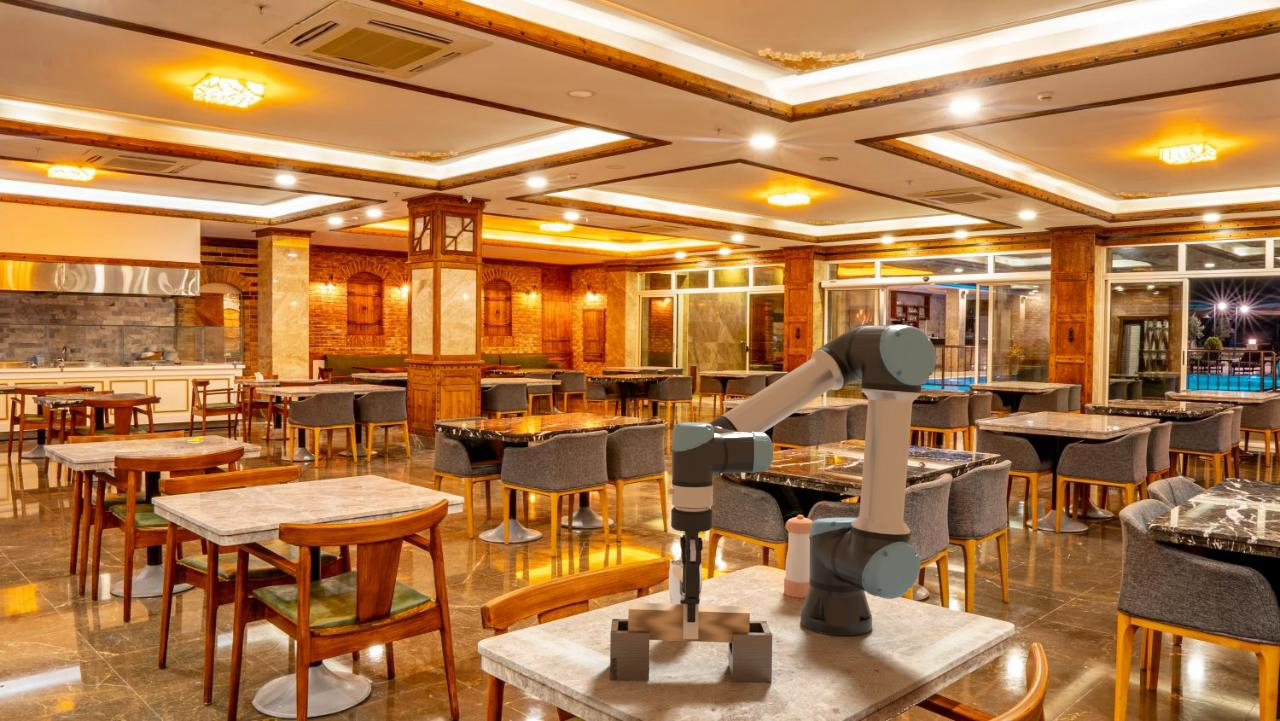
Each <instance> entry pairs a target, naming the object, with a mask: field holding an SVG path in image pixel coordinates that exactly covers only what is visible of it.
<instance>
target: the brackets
mask: <svg viewBox="0 0 1280 721" xmlns="http://www.w3.org/2000/svg"><path fill="white" fill-rule="evenodd" d="M649 635H650V631H628V618H611V627H610V635H609V637H610V644H609V645H610V649H609V650H610V652H609V654H610V655H609V660H610V661H609V680H610V681H650V640H649ZM728 668H729V674H730V677H731V681H732V682H733V683H739V682H740V683H772V682H773V681H772V680H773V679H772V677H773V676H772V674H773V670H772V669H773V634H772V631H771V629H770V626H769V624H768V621H767V620H750V624H749V633H738V632H733V635H732V643H728Z"/></svg>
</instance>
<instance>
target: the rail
mask: <svg viewBox="0 0 1280 721" xmlns="http://www.w3.org/2000/svg"><path fill="white" fill-rule="evenodd" d="M683 606H684V604H671V603H658V602H657V603H656V602H629V603H628V618H627V619H628V631H650V635H649V641H669V642H670V641H673V642H698V643H699V642H703V643H704V642H705V643H706V642H707V643H728V644H729V643H732V635H733V632H738V633H749V624H750V621H751V619H750V618H751V616H750V615H751V612H750V609H749V608H748V607H749V606H744V605H741V606H740V605H714V604H709V605H708V604H699V615H698V639H683Z"/></svg>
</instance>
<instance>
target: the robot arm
mask: <svg viewBox="0 0 1280 721" xmlns="http://www.w3.org/2000/svg"><path fill="white" fill-rule="evenodd" d="M936 355H937V354H936V349H935V346H934V344H933V342H932V340H931V339H930V338H929V337H928V336H927V334H926V333H925V332H924V331H923V330H921V329H920V328H918V327H916V326H915V327H914V326H912V325H903V324H890V325H889V324H888V325H887V324H886V325H884V324H883V325H861V326H857V327H855V328H851V329H850V330H848V331H845V332H844V333H842V334H841V335H839V336H837V337H835V338H834V339H831V340H830V341H829V342H827V343H824V345H822V346H820V347H819V348H817V349H816V350H814V351H813V352H812V353H811V355H810V359H809V360H808V361H806V362H804V363H802V364H801V365H800V366H798V367H796V368H794V369H793V370H792V371H790V372H789V373H787V374H785V375H783V376H781V378H779V379H778V380H776V381H774V382H773V383H770V384H769V385H768V386H766V387H765V388H763V389H762V390H760V391H758V392H757V393H755V394H753V395H752V396H750V397H749V398H747V399H746V400H744V401H743V402H741V403H739V404H738V405H736V406H734V407H733V408H732V409H730V410H728V411H727V412H725V413H724V414H722V415H720V416H718V417H716V418H715V419H713V420H712V421H710V422H709V423H708V422H690V421H688V422H679V423H676V424H675V425H674V427H673V431H672V437H671V438H672V440H671V487H672V488H669V489H668V492H667V493H668V494H670V495H671V505H672V506H673V507H672V508H671V510H670V511H671V512H670V527H671V528H672V529H673V530H675V531H677V532H678V531H679V532H684V534H682V536H680V540H679V544H680V549H681V552H680V554H681V555H680V556H681V558H682V563H683V582H682V586H683V589H682V591H683V593H685V595H684V594H683V596H682V600H680V603H681V604H684V606H683V639H698V615H699V605H700V604H699V602H700V603H701V598H700V599H699V594H700V589H699V573H700V564H701V565H702V550H703V547H704V546H703V544H704V543H703V539H702V538H703V537H701V536H699V533H701V532H703V533H704V532H707V531H710V530H711V529H712V528H713V510H712V508H711V507H712V506H713V504H714V499H713V498H714V482H713V481H714V475H721V474H739V473H740V474H741V473H742V474H743V473H744V474H745V473H747V474H748V473H750V474H755V473H757V472H759V473H760V472H766V471H767V470H769V468H770V467H771V465H772V463H773V460H774V446H773V442H772V440H771V438H770V437H769V435H768V434H766V433H765V432H766V431H768V430H769V429H771V428H773V427H774V426H775V425H777V424H779V423H780V422H782V421H783V420H785V419H787V418H788V417H790V416H791V415H793V414H794V413H796V412H797V411H799V410H800V409H802V408H803V407H806V405H808V404H810V403H811V402H813V401H814V400H816V399H818V398H819V397H821V396H822V395H823V394H825V393H827V392H829V391H830V390H833V391H839V390H840V389H842V388H843V387H845V386H847V385H849V384H853V383H855V382H861V385H860V386H861V388H860V389H861V391H862V393H863V394H864V396H866V398H867V411H866V412H867V413H866V425H865V426H866V427H865V439H864V451H863V466H862V476H861V477H862V478H861V490H860V504H859V505H860V506H859V514H858V516H857V517H846V516H845V517H826V518H817V519H815V520H812V521H813V522H812V524H811V528H810V536H809V539H810V573H809V577H810V579H809V589H808V592H807V595H806V598H804V601H803V603H802V604H803V605H802V607H801V610H800V624H801V625H802V626H803V627H804V628H806V629H808V630H810V631H813V632H817V633H820V634H823V635H832V636H858V635H863V634H866V633H869V632H870V631H871V630H873V616H872V611H871V609H870V606H869V602H868V600H867V596H866V593H867V594H869V595H871V596H872V597H873V596H874V597H879V598H881V599H887V600H892V599H898V598H900V597H902V596H904V595H906V593H908V592H909V589H912V588H913V587H914V585H915V584H916V583H917V581H918V579H919V575H920V572H921V558H920V556H919V555H920V554H919V553H917V550H916V548H915V547H914V546H912V545H911V544H910V543H911V529H910V528H909V527H908V525H907V524H906V523H905V521H904V519H905V518H904V516H905V504H906V502H905V501H906V492H907V491H906V490H907V477H908V476H907V475H908V464H909V463H908V462H909V450H910V449H909V448H910V436H911V435H910V434H911V425H912V423H911V422H912V409H913V403H914V401H915V400H916V399H918V398H919V397H920V396H921V395H922V387H923V386H922V384H924V383H926V382H927V381H928V380H929V379H930V376H932V375H933V374H934V372H935V369H936V368H935V367H936V363H937V356H936ZM865 592H866V593H865Z"/></svg>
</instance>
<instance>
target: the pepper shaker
mask: <svg viewBox="0 0 1280 721" xmlns="http://www.w3.org/2000/svg"><path fill="white" fill-rule="evenodd" d="M813 521H814V520H812V519H810V518H808V517H807V518H806V517H805V516H804V515H803V514H797V516H796V517H792V518H789V519H788V520H787V521H786V522H785V525H784V526H785V529H786V531H788V544H787V546H788V548H787V556H786V561H785V576H784V579H783V594H784V595H786V596H788V597H792V598H798V599H799V598H801V599H805V598H806V595H807V592H808V589H809V579H810V577H809V573H810V539H809V536H810V528H811V524H812V522H813Z"/></svg>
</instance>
